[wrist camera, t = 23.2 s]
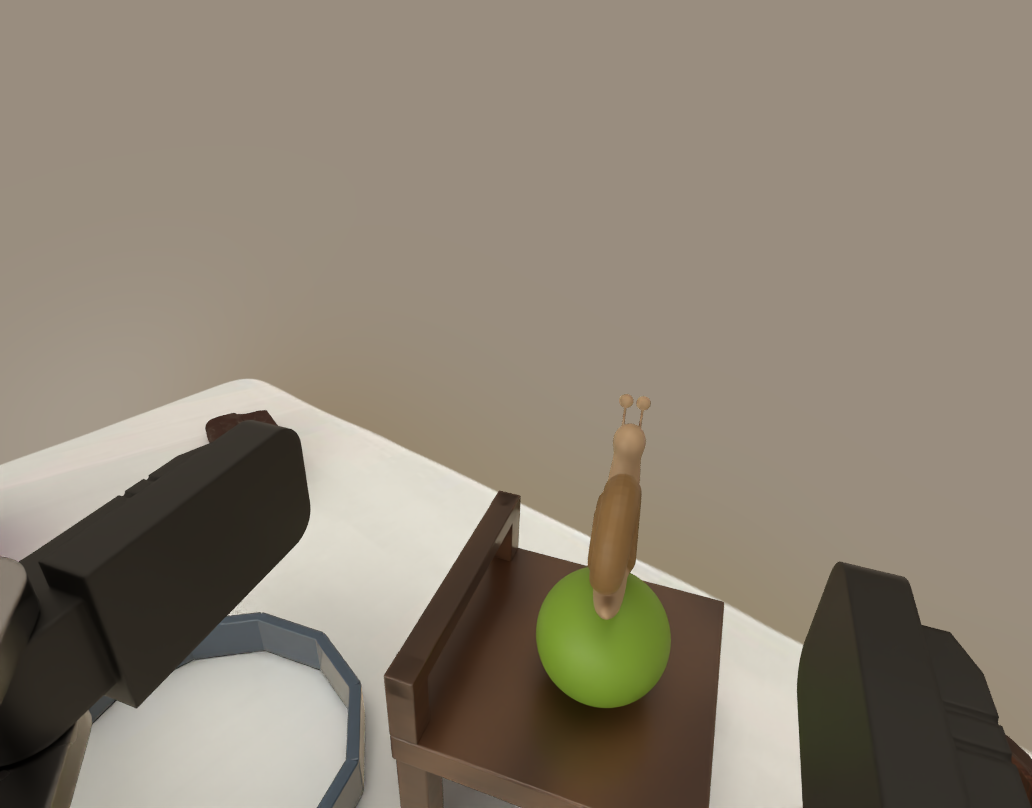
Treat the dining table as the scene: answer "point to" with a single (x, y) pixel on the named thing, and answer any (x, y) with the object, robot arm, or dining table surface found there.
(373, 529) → the dining table surface
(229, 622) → the faceted ring wall
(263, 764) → the dining table surface
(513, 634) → the chair
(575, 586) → the snail figurine
